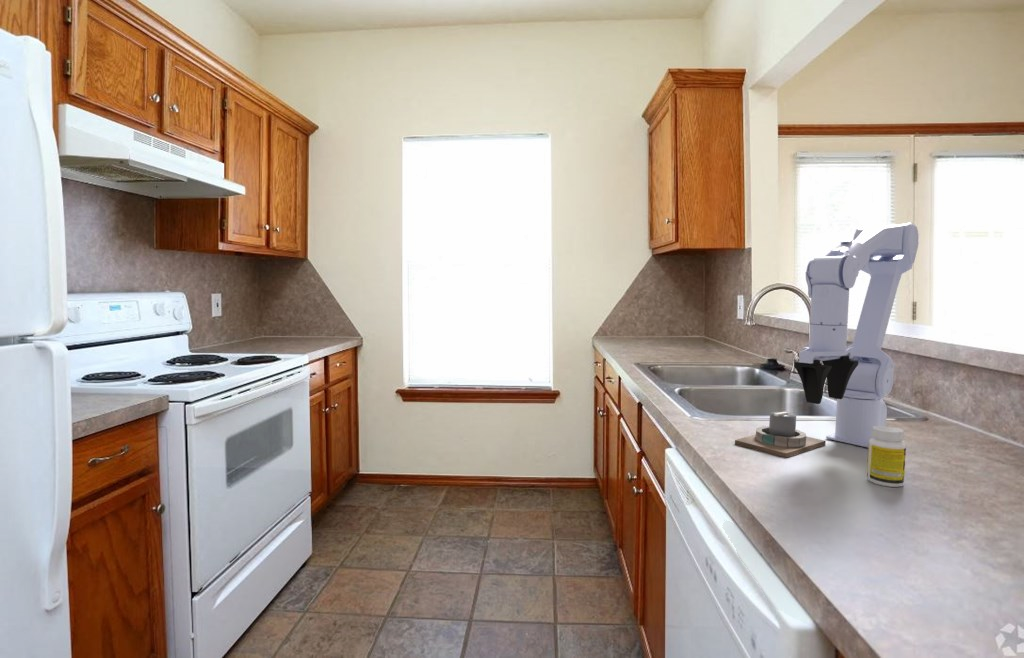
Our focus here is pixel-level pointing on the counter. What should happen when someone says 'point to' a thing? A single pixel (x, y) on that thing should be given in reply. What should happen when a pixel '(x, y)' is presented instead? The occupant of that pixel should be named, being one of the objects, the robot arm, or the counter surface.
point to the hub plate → (779, 448)
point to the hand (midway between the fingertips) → (824, 400)
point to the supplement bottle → (886, 456)
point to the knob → (782, 424)
